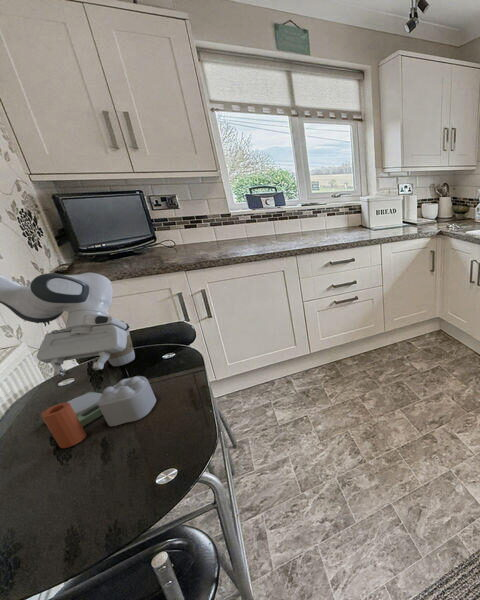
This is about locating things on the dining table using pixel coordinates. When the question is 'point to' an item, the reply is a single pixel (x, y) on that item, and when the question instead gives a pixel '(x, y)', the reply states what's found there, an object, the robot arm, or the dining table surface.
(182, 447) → the dining table surface
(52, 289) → the robot arm
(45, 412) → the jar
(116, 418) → the lumpy-topped squat cylinder
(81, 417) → the scale
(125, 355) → the coffee cup
